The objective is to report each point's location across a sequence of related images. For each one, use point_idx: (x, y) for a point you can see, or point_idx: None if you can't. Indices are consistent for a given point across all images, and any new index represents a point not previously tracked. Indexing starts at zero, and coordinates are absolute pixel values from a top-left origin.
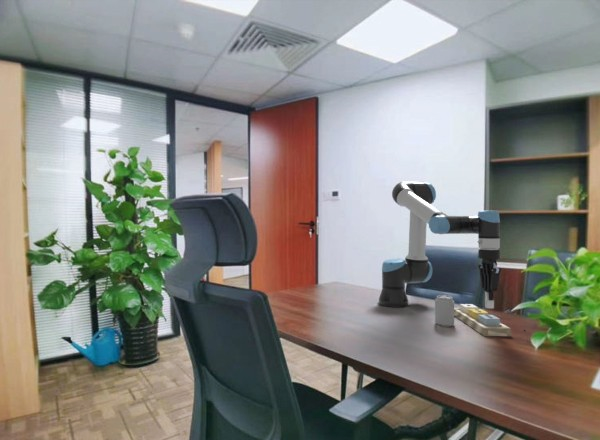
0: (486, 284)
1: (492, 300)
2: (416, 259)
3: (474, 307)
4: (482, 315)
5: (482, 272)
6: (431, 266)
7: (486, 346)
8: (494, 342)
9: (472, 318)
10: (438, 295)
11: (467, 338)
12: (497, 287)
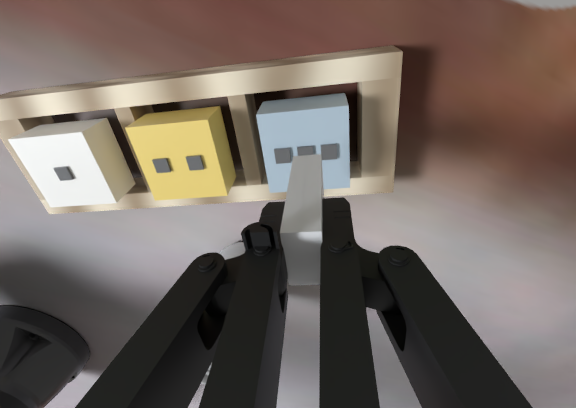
0: (279, 338)
1: (322, 194)
2: None
3: (93, 153)
4: (284, 178)
5: None
6: None
7: (508, 211)
8: (470, 165)
9: (233, 187)
10: (202, 382)
11: (414, 241)
12: (440, 289)
